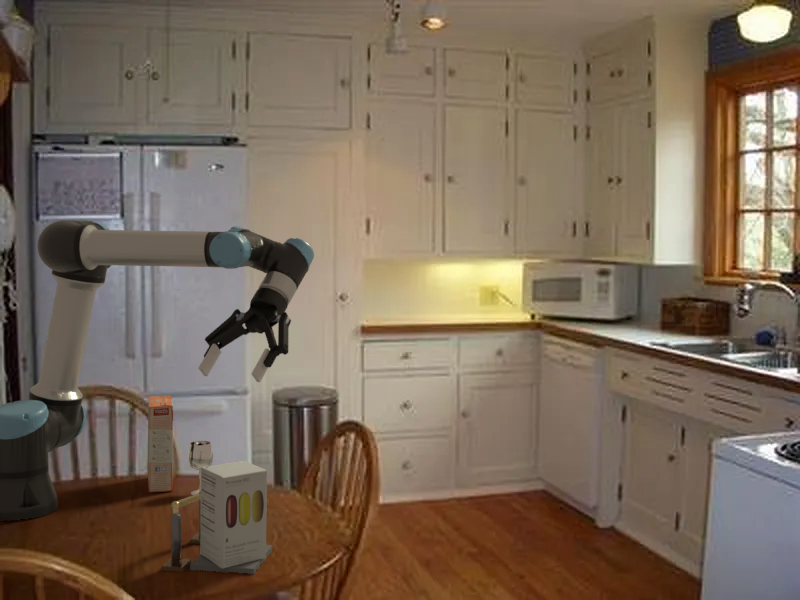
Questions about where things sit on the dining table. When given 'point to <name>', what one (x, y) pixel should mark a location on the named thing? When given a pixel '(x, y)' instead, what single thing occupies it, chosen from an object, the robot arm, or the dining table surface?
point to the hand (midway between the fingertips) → (228, 375)
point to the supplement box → (233, 513)
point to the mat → (248, 567)
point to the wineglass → (200, 457)
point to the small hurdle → (175, 561)
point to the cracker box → (160, 443)
